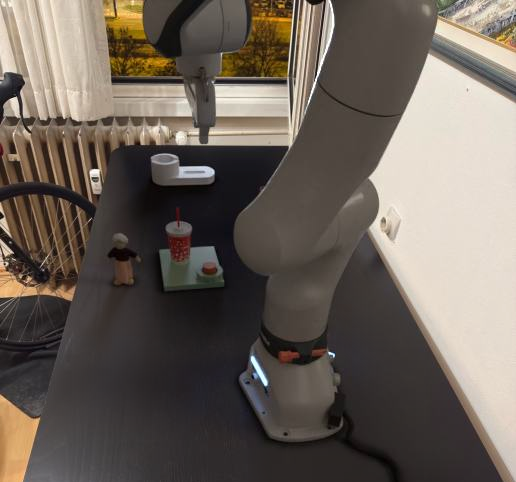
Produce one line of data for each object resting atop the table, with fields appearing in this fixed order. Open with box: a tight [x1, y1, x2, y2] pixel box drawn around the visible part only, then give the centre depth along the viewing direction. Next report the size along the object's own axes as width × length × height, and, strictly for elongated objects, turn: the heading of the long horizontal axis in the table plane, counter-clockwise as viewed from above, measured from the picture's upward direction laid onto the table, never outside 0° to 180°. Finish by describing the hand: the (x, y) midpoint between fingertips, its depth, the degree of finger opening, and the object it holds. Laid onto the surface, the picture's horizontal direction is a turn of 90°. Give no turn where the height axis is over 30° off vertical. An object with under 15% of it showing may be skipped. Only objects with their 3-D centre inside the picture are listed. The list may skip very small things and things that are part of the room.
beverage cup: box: [165, 206, 193, 265], centre depth 113 cm, size 6×6×14 cm
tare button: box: [203, 261, 216, 275], centre depth 113 cm, size 3×3×2 cm
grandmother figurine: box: [105, 232, 142, 286], centre depth 108 cm, size 8×4×13 cm, turn 105°
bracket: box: [150, 153, 215, 186], centre depth 153 cm, size 20×9×7 cm, turn 101°
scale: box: [158, 245, 225, 292], centre depth 117 cm, size 16×14×3 cm
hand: (200, 134), depth 102 cm, fingers open, 8 cm apart
